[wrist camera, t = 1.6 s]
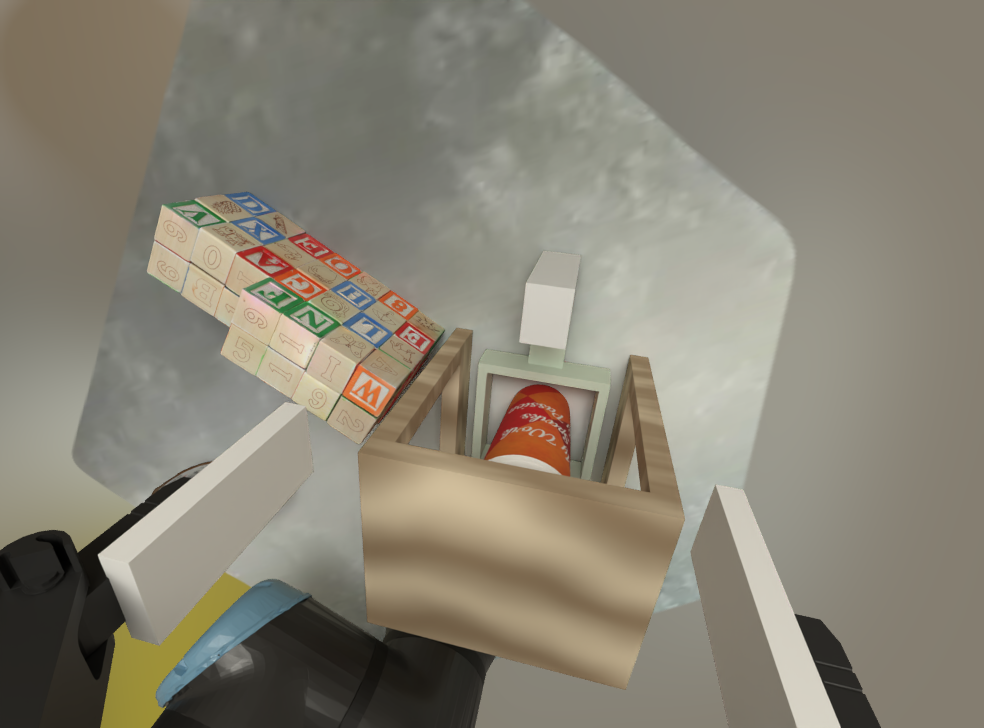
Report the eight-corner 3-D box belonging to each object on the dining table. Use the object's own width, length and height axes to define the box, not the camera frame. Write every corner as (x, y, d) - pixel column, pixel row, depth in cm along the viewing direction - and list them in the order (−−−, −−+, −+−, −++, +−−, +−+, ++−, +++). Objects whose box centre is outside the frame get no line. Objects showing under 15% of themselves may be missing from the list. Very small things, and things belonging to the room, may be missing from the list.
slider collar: (588, 470, 45) (585, 550, 36) (477, 448, 47) (449, 519, 38) (633, 261, 36) (644, 298, 27) (494, 244, 38) (462, 273, 29)
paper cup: (597, 400, 42) (596, 505, 30) (554, 457, 46) (537, 571, 34) (523, 358, 42) (491, 445, 30) (485, 418, 46) (443, 519, 33)
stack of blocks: (229, 247, 44) (106, 281, 33) (249, 189, 41) (122, 205, 30) (416, 376, 46) (358, 448, 35) (448, 329, 43) (396, 391, 32)
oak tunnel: (616, 485, 46) (625, 690, 29) (450, 452, 48) (367, 622, 31) (648, 357, 40) (685, 519, 22) (456, 327, 42) (357, 452, 25)
